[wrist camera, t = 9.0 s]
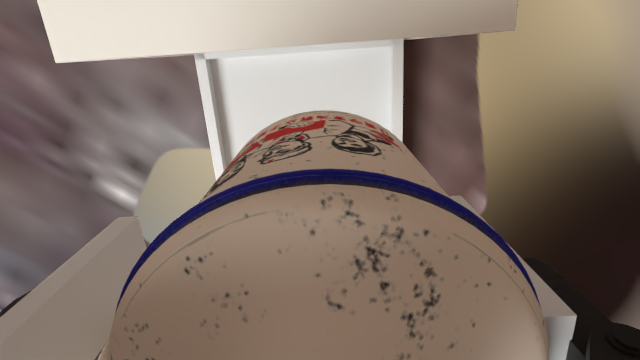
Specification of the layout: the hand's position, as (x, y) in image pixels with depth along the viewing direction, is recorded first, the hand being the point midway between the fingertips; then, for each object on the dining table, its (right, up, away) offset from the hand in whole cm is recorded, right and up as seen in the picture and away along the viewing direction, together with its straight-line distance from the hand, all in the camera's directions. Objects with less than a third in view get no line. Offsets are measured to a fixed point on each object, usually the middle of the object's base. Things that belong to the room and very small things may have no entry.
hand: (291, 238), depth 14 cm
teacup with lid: (0, +1, +2) cm, 2 cm away
